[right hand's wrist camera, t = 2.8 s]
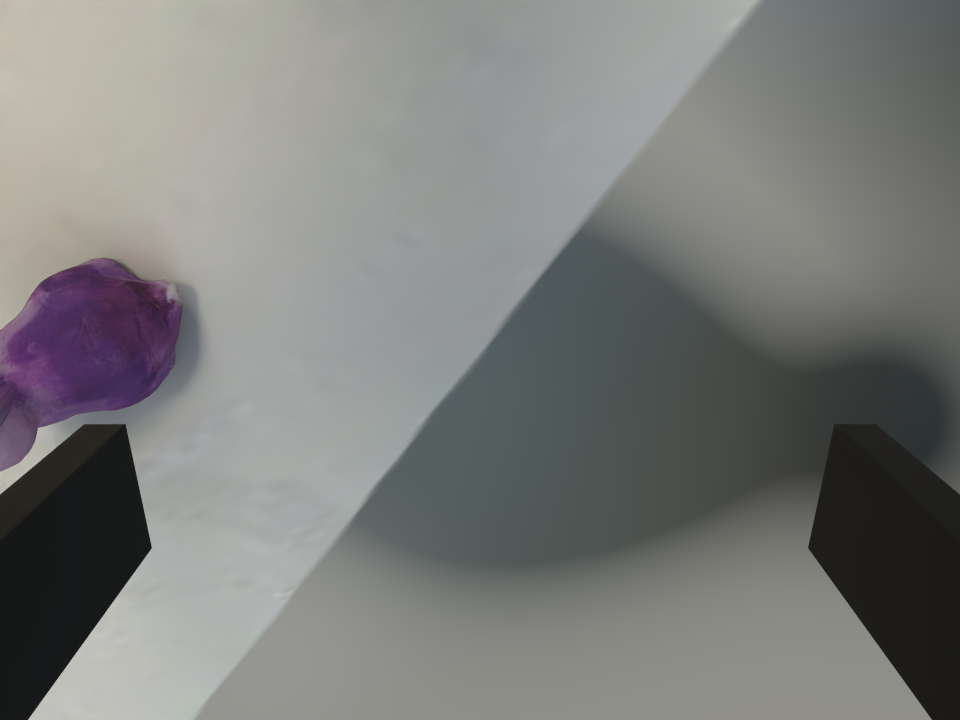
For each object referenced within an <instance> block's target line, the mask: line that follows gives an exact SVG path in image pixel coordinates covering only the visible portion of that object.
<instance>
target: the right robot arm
mask: <svg viewBox="0 0 960 720" xmlns="http://www.w3.org/2000/svg"><path fill="white" fill-rule="evenodd" d="M151 548H152V547H151V542H150V537H149V532H148V528H147V523H146V518H145V514H144V509H143V504H142V499H141V495H140V490H139V485H138V481H137V476H136V471H135V466H134V462H133V457H132V452H131V448H130V443H129V438H128V433H127V429H126V424H84V425H83V426H82V427H81V428H79V429H78V430H77V431H76V432H75V433H73V434H72V435H71V436H70V437H69V438H67V439H66V440H65V441H64V442H63V443H61V444H60V445H59V446H58V447H57V448H55V449H54V450H53V451H52V452H51V453H49V454H48V455H47V456H46V457H45V458H43V459H42V460H41V461H40V462H39V463H38V464H36V465H35V466H34V467H33V468H32V469H30V470H29V471H28V472H27V473H26V474H24V475H23V476H22V477H21V478H20V479H18V480H17V481H16V482H15V483H14V484H12V485H11V486H10V487H9V488H8V489H6V490H5V491H4V492H3V493H2V494H0V720H28V719H29V717H30V716H31V715H32V713H33V712H34V711H35V709H36V708H37V706H38V705H39V704H40V702H41V701H42V699H43V698H44V697H45V695H46V694H47V693H48V691H49V690H50V688H51V687H52V686H53V684H54V683H55V681H56V680H57V679H58V677H59V676H60V675H61V673H62V672H63V670H64V669H65V668H66V666H67V665H68V663H69V662H70V661H71V659H72V658H73V657H74V655H75V654H76V652H77V651H78V650H79V648H80V647H81V645H82V644H83V643H84V641H85V640H86V639H87V637H88V636H89V634H90V633H91V632H92V630H93V629H94V627H95V626H96V625H97V623H98V622H99V620H100V619H101V618H102V616H103V615H104V614H105V612H106V611H107V609H108V608H109V607H110V605H111V604H112V602H113V601H114V600H115V598H116V597H117V596H118V594H119V593H120V591H121V590H122V589H123V587H124V586H125V584H126V583H127V582H128V580H129V579H130V578H131V576H132V575H133V573H134V572H135V571H136V569H137V568H138V566H139V565H140V564H141V562H142V561H143V560H144V558H145V557H146V555H147V554H148V553H149V551H150V550H151ZM808 548H809V550H810V551H811V553H812V554H813V555H814V557H815V558H816V560H817V561H818V562H819V564H820V565H821V566H822V568H823V569H824V571H825V572H826V573H827V575H828V576H829V577H830V579H831V580H832V582H833V583H834V584H835V586H836V587H837V589H838V590H839V591H840V593H841V594H842V595H843V597H844V598H845V600H846V601H847V602H848V604H849V605H850V607H851V608H852V609H853V611H854V612H855V614H856V615H857V616H858V618H859V619H860V621H861V622H862V623H863V625H864V626H865V627H866V629H867V630H868V632H869V633H870V634H871V636H872V637H873V638H874V640H875V641H876V643H877V644H878V645H879V647H880V648H881V650H882V651H883V652H884V654H885V655H886V657H887V658H888V659H889V661H890V662H891V663H892V665H893V666H894V668H895V669H896V670H897V672H898V673H899V675H900V676H901V677H902V679H903V680H904V681H905V683H906V684H907V686H908V687H909V688H910V690H911V691H912V693H913V694H914V695H915V697H916V698H917V699H918V701H919V702H920V704H921V705H922V706H923V708H924V709H925V711H926V712H927V713H928V715H929V716H930V717H931V719H932V720H960V494H958V493H957V492H956V491H955V490H954V489H952V488H951V487H950V486H949V485H948V484H946V483H945V482H944V481H943V480H942V479H940V478H939V477H938V476H937V475H936V474H934V473H933V472H932V471H931V470H930V469H928V468H927V467H926V466H925V465H924V464H922V463H921V462H920V461H919V460H918V459H917V458H915V457H914V456H913V455H912V454H910V453H909V452H908V451H907V450H906V449H905V448H903V447H902V446H901V445H900V444H899V443H897V442H896V441H895V440H894V439H892V438H891V437H890V436H889V435H888V434H887V433H885V432H884V431H883V430H882V429H881V428H879V427H878V426H877V425H875V424H835V425H834V429H833V433H832V438H831V443H830V448H829V452H828V457H827V462H826V467H825V471H824V476H823V481H822V485H821V490H820V495H819V499H818V504H817V509H816V514H815V518H814V523H813V528H812V532H811V537H810V542H809V547H808Z"/></svg>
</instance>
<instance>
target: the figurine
mask: <svg viewBox="0 0 960 720" xmlns="http://www.w3.org/2000/svg"><path fill="white" fill-rule="evenodd" d="M181 313H182V300H181V296H180V293H179V291H178V289H177V287H176V286H175V285H174V284H173V283H171V282H170V281H167V280H158V281H141V280H139V279H138V278H136V277H135V276H134V275H131V274H130V273H129V272H127V271H126V270H124V268H123V267H122V266H120V265H119V264H118V263H117V262H115V261H113V260H111V259H107V258H101V259H92V260H89V261H87V262H85V263H83V264H80V265H78V266H76V267H72V268H69V269H66V270H64V271H61V272H58V273H56V274H54V275H52V276H50V277H48V278H47V279H45V280H43V281H42V282H41V283H40V284H39V285H38V287H37V288H36V289H35V290H34V292H33V293H32V294H31V296H30V297H29V299H28V301H27V303H26V305H25V307H24V308H23V310H22V311H21V312H20V313H19V314H18V316H17V317H16V318H14V319H13V320H12V321H11V322H10V323H8V324H7V325H6V326H5V327H4V328H2V329H1V330H0V471H3V470H5V469H7V468H9V467H11V466H14V465H16V464H18V463H19V462H20V461H22V459H23V458H24V457H25V456H26V455H27V454H28V452H29V451H30V450H31V448H32V446H33V444H34V442H35V439H36V435H37V429H38V428H39V427H44V426H47V425H50V424H54V423H57V422H60V421H62V420H65V419H68V418H70V417H72V416H74V415H77V414H81V413H87V412H94V411H103V410H119V409H122V408H125V407H129V406H132V405H134V404H137V403H139V402H140V401H142V400H143V399H145V398H146V397H148V396H149V395H151V394H152V393H153V392H154V391H155V390H156V389H157V388H158V387H159V385H160V384H161V383H162V381H163V380H164V379H165V377H166V376H167V375H168V373H169V372H170V371H171V369H172V368H173V366H174V363H175V351H174V347H175V344H176V341H177V338H178V334H179V328H180V320H181Z"/></svg>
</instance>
